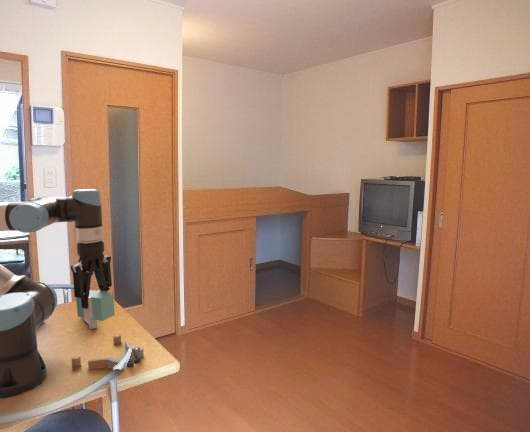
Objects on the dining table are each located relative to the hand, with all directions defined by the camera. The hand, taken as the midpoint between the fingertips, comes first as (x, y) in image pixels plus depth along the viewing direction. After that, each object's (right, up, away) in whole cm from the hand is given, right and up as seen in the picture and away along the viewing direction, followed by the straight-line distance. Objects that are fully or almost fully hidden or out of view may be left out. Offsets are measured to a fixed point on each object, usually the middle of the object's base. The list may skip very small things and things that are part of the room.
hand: (95, 314), depth 122 cm
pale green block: (0, -1, 0) cm, 1 cm away
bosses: (+13, -14, -4) cm, 20 cm away
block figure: (+6, -13, -1) cm, 14 cm away
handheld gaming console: (-14, -10, +26) cm, 31 cm away
